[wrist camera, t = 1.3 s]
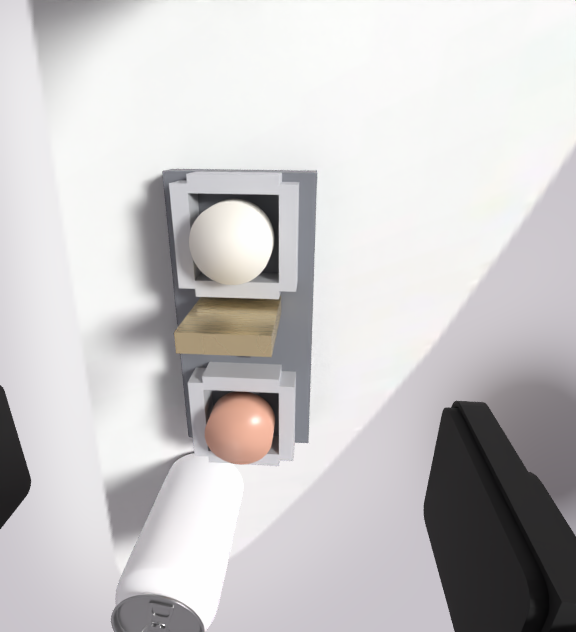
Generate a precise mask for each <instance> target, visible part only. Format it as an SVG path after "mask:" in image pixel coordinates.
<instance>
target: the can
mask: <svg viewBox="0 0 576 632" xmlns="http://www.w3.org/2000/svg"><path fill="white" fill-rule="evenodd" d="M242 494H243V480H242V477H241V475H240V473H239V472H238V470H237V469H236V468H235V467H234V465H233V464H232V463H215V462H209V457H207V456H195V455H194V453H193V454H189V455H186V456H183V457H181V458H180V459H178V460H177V461H176V462H175V463H174V464H173V465H172V467H171V468H170V470H169V472H168V474H167V476H166V479H165V481H164V483H163V485H162V487H161V489H160V492H159V494H158V496H157V498H156V500H155V502H154V505H153V507H152V509H151V511H150V513H149V516H148V518H147V520H146V522H145V524H144V527H143V529H142V531H141V533H140V535H139V537H138V540H137V542H136V544H135V546H134V549H133V551H132V553H131V555H130V557H129V560H128V562H127V564H126V566H125V569H124V571H123V573H122V575H121V578H120V580H119V583H118V586H117V589H116V607H115V609H114V610H113V613H112V616H111V623H112V628H113V630H114V632H205V631H206V630H207V628H208V627H209V626H210V624H211V623H212V621H213V619H214V618H215V615H216V612H217V608H218V604H219V600H220V596H221V591H222V587H223V583H224V578H225V573H226V569H227V564H228V560H229V555H230V551H231V546H232V541H233V537H234V532H235V528H236V523H237V518H238V513H239V509H240V504H241V499H242Z"/></svg>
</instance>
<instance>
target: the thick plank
mask: <svg viewBox="0 0 576 632" xmlns="http://www.w3.org/2000/svg"><path fill="white" fill-rule="evenodd" d="M280 317H281V296H280V297H279V299H255V298H223V297H201V298H200V299H199V300H198V301H197V303H196V304H195V305H194V307H193V308H192V309H191V311H190V312H189V313H188V315H187V316H186V317H185V319H184V320H183V321H182V323H181V324H180V325H179V326H178V328H177V329H176V330H175V332H174V338H175V347H176V353H179V354H204V355H230V356H255V357H272V353H273V349H274V344H275V340H276V335H277V331H278V326H279V321H280Z"/></svg>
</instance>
